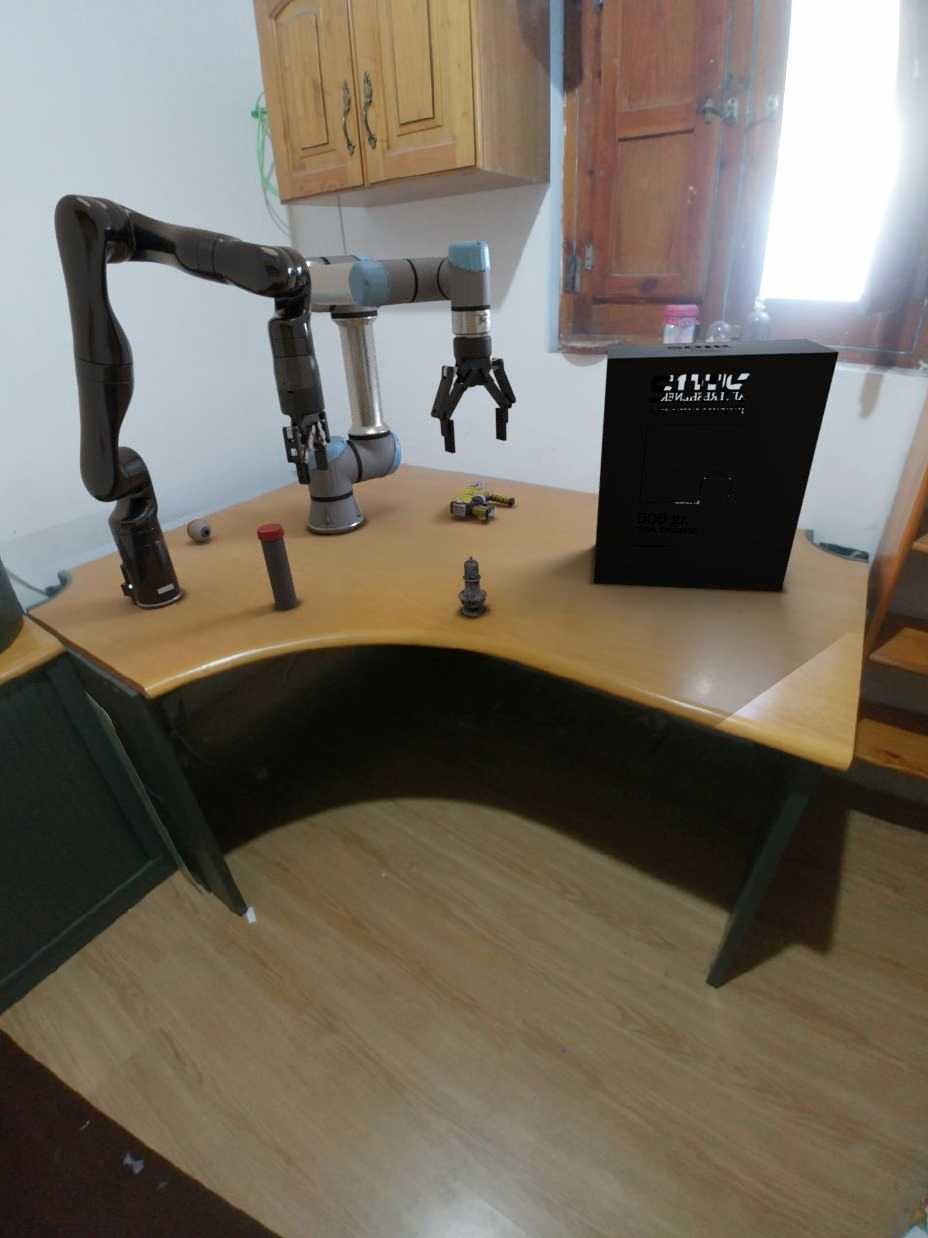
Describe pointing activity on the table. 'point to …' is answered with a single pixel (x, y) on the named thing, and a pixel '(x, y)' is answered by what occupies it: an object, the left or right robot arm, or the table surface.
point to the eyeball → (199, 530)
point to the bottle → (279, 573)
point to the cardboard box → (707, 461)
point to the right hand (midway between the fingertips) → (476, 445)
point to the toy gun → (477, 502)
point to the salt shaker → (472, 590)
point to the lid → (270, 532)
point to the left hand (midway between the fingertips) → (314, 476)
